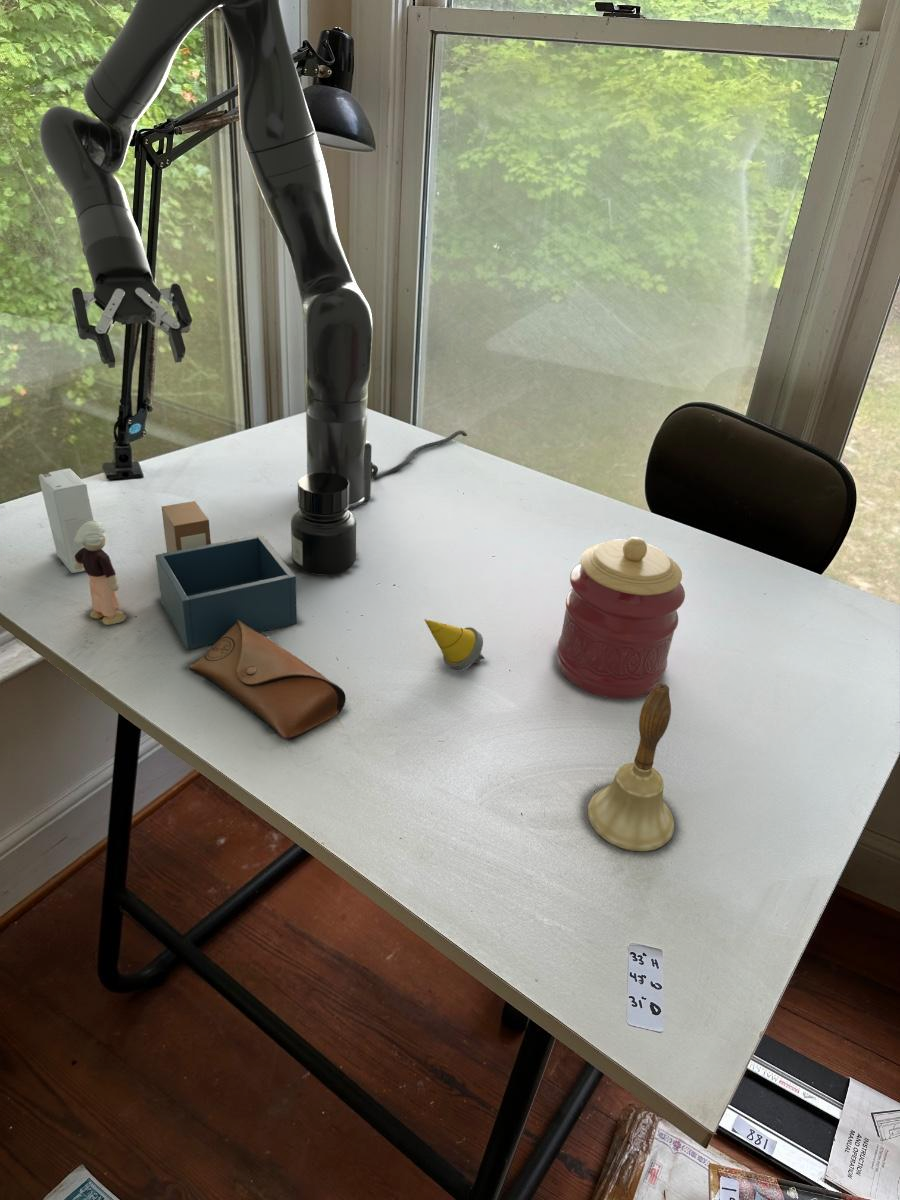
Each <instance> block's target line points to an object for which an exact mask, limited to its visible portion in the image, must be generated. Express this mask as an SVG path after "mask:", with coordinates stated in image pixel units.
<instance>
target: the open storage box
mask: <svg viewBox="0 0 900 1200" xmlns="http://www.w3.org/2000/svg"><path fill="white" fill-rule="evenodd" d="M155 562H156V570H157V571H156V572H157V578H158V586H159V594H160V601H161V603H162V605H163V607H164V609H165V611H166V612H167V615H168V616H169V618H170V620H171V622H172V624H173V625H174V627H175V629H176V631H177V633H178V635H179V637H180V639H181V640H182V642H183V644H184V646H185V648H186V649H187V651H190V650H194V649H197V648H203V647H206V646H210V645H214V644H215V643H216V642H217V641H218V640H219V639H220V638H221V637H222V636H223V635H224V634H225V633H226V632H227V631H228V630H229V629H230V628H231V627H232V626H234V625H235V624H236V623H237V621H236V620H239V621H241V622H242V623H243V624H245V625H246V626H248V627H249V628H251V629H253V630H254V631H256V632H258V633H262V632H263V633H264V632H267V631H272V630H275V629H279V628H283V627H287V626H291V625H295V624H298V606H297V604H298V603H297V576H296V575H295V574H294V572H293V571H292V569H290V567H289V566H288V565H287V564H286V562H285V561H284V559H282V557H281V556H280V555H279V554H278V552H277V551H276V550H275V548H274V547H273V546H272V545H271V543H270V542H269V541H268V540H267V539H266V538H265V536H264V535H263V534H258V535H252V536H246V537H241V538H235V539H231V540H226V541H220V542H216V543H211V544H209V545H204V546H199V547H194V548H188V549H183V550H178V551H173V552H167V551H166V552H162V553H158V554H155Z"/></svg>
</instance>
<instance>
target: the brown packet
mask: <svg viewBox="0 0 900 1200" xmlns="http://www.w3.org/2000/svg"><path fill="white" fill-rule="evenodd" d="M161 515H162V524H163V531H164V532H163V533H164V540H165V541H164V542H165V548H166V549H165V550H166V553H167V552H173V551H178V550H183V549H188V548H194V547H199V546H204V545H209V544H212V540H211V529H210V528H211V527H210V520H209V518H208V516H207V515H206V514H205V513H204V511H203V510H202V509H201V507H200V505H199V504H198V503H197V501H196V500H193V501H192V500H191V501H186V502H181V503H174V504H168V505H161Z"/></svg>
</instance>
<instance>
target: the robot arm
mask: <svg viewBox="0 0 900 1200" xmlns="http://www.w3.org/2000/svg"><path fill="white" fill-rule="evenodd" d="M280 6H281V5H280V1H279V0H137V1H136V3H135V5H134V7H133V8H132V10H131V13H130V15H129V16H128V18H127V20H126V21H125V23H124V24H123V27H122V28H121V30H120V31H119V33H118V34H117V36H116V38H115V39H114V40H113V42H112V43H111V45H110V46H109V48H108V49H107V50H106V52H105V54H104V55H103V56H102V58H101V59H100V61H99V62H98V64H97V65H96V67H95V68H94V70H93V72H92V73H91V75H90V76H89V77H88V79H87V81H86V83H85V84H84V87H83V97H84V101H85V103H86V105H87V107H88V109H89V110H90V111H91V112H92V114H93V115H94V116H95V117H94V116H91V115H89V114H87V113H84V112H81V111H79V110H77V109H74V108H71V107H69V106H65V105H54V106H52V107H50V108H48V109H47V110H46V111H45V112H44V114H43V115H42V117H41V120H40V124H39V139H40V144H41V149H42V151H43V153H44V156H45V158H46V160H47V162H48V164H49V166H50V167H51V169H52V170H53V172H54V174H55V176H56V178H57V179H58V180H59V182H60V184H61V186H62V187H63V189H64V191H65V192H66V193H67V195H68V197H69V198H70V199H71V204H72V207H73V211H74V215H75V218H76V222H77V226H78V229H79V231H78V232H79V238H80V242H81V247H82V253H83V256H84V257H85V261H86V263H87V267H88V271H89V274H90V278H91V281H92V285H93V288H94V290H93V291H83V290H82V289H81V288H80V287H73V288H72V289H71V306H72V311H73V315H74V320H75V325H76V331H77V335H78V337H79V339H81V340H84V341H85V340H87V339H89V340H92V341H94V342H95V344H96V347H97V350H98V353H99V357H100V361H101V362H102V363H103V365H107V367H108V369H114V368H116V357H115V353H114V349H113V345H112V343H111V339H110V335H109V333H110V332H112V329H113V328H114V327H115V324H116V323H119V324H121V326H126V325H131V324H139V325H141V324H142V325H143V324H147V322H149V323H150V324H151V325H153V326H154V327H155V328H156V329H159V330H161V331H163V332H164V333H165V334H166V335H167V336H168V343H169V346H170V349H171V354H172V356H173V359H174V362H175V364H176V363H182V360H183V359H184V358H185V354H186V349H187V348H186V345H185V341H184V339H183V335H182V334H183V333H185V334H187V333H189V332H190V330H191V325H192V322H193V318H192V315H191V312H190V310H189V306H188V305H187V302H186V298H185V296H184V294H183V293H184V292H183V291H182V287H181V286H180V285H179V284H178V283H172V284H171V286H170V287H165V288H159V287H158V286H157V285H156V283H155V282H154V278H153V274H152V272H151V267H150V264H149V262H148V257H147V254H146V252H145V248H144V245H143V240H142V238H141V234H140V231H139V229H138V226H137V224H136V222H135V219H134V216H133V213H132V211H131V210H132V209H131V207H130V204H129V199H128V197H127V193H126V191H125V188H124V186H123V184H122V182H121V181H120V179H118V177H116V176H115V174H117V173H118V172H119V171H120V170H121V169H122V168H123V165H124V164H125V160H126V157H127V153H128V150H129V147H130V143H131V140H132V138H133V135H134V133H135V129H136V126H137V124H138V122H139V120H140V119H141V118H142V116H143V115H144V114H145V113H146V111H147V110H148V108H149V107H150V106H151V105H152V103H153V102H154V100H155V99H156V98H157V97H158V95H159V93H160V92H161V90H162V89H163V86H164V85H165V83H166V81H167V79H168V76H169V73H170V70H171V68H172V65H173V62H174V59H175V57H176V54H177V53H178V50H179V48H180V46H181V44H182V43H183V42H184V40H185V39H186V38H187V36H188V35H189V33H190V32H191V31H192V30H193V29H194V28H195V27H196V26H197V25H198V24H199V23H200V22H201V21H203V20H204V18H206V17H207V16H208V15H209V14H210V13H211V12H213V11H214V10H215V9H217V8H219V11H220V13H221V16H222V19H223V21H224V24H225V27H226V30H227V33H228V36H229V38H230V41H231V45H232V48H233V52H234V58H235V64H236V70H237V71H236V72H237V84H238V85H237V87H238V89H237V90H238V91H237V92H238V114H239V115H238V116H239V127H240V131H241V136H242V142H243V144H244V148H245V151H246V153H247V154H246V155H247V157H248V160H249V163H250V166H251V168H252V171H253V175H254V177H255V179H256V183H257V185H258V188H259V191H260V193H261V196H262V198H263V200H264V202H265V205H266V207H267V209H268V212H269V213H270V216H271V217H272V220H273V222H274V224H275V226H276V228H277V230H278V232H279V234H280V236H281V238H282V240H283V242H284V244H285V247H286V249H287V252H288V255H289V258H290V261H291V264H292V269H293V272H294V276H295V280H296V285H297V289H298V292H299V298H300V302H301V307H302V308H301V309H302V310H301V311H302V315H303V319H304V323H305V332H306V333H305V334H306V373H305V379H304V381H305V382H304V383H305V429H306V437H305V438H306V475H308V474H312V473H323V472H326V473H334V474H337V475H340V476H343V477H344V478H346V479H348V482H349V483H350V490H349V508H348V509H353V508H355V507H356V508H357V507H359V506H360V505H362V504H363V503H364V502H366V501H370V500H371V483H372V479H375V480H377V479H380V478H381V479H382V478H383V477H386V476H389V475H392V474H394V473H396V472H398V471H399V470H401V469H403V468H404V467H406V466H407V465H408V464H409V463H410V462H411V461H412V460H413V458H414V456H416V454H417V453H419V452H421V451H423V450H425V449H429V448H432V447H436V446H440V445H443V444H446V443H448V442H451V441H452V440H454V439H455V438H456V437H458V436H459V435H461V436H463V437H467V436H468V433H467V432H466V431H465V430H462V429H459V430H456V431H454V432H453V433H451V434H450V435H449V436H447V437H445V438H442V439H439V440H436V441H433V442H429V443H425V444H422V445H419V446H418V447H415V448H414V449H413V450H412V451H411V452H410V453H409V454H408V456H407V457H406V459H404V460H403V461H402V462H401V463H398V464H397V465H396V466H394V467H393V468H390V469H388V470H387V471H385V472H382V473H378V472H379V468H378V466H377V465H376V464H373V461H372V451H373V450H372V449H373V447H372V443H371V442H370V441H368V440H367V439H368V437H367V436H368V399H369V398H368V396H369V395H368V394H369V382H370V378H371V372H372V351H373V350H372V348H373V316H372V311H371V310H372V309H371V308H370V305H369V303H368V301H367V300H366V298H365V296H364V294H363V293H362V291H361V289H360V288H359V286H358V283H357V282H356V279H355V277H354V275H353V273H352V270H351V268H350V265H349V263H348V260H347V258H346V255H345V252H344V249H343V247H342V244H341V241H340V237H339V235H338V231H337V226H336V220H335V219H336V218H335V212H334V211H335V210H334V205H333V204H334V203H333V196H332V190H331V186H330V181H329V176H328V172H327V167H326V163H325V159H324V156H323V153H322V149H321V146H320V143H319V139H318V136H317V133H316V129H315V125H314V122H313V120H312V117H311V114H310V111H309V108H308V104H307V101H306V98H305V95H304V91H303V87H302V84H301V81H300V77H299V74H298V71H297V67H296V65H295V61H294V58H293V55H292V52H291V48H290V46H289V42H288V38H287V34H286V30H285V25H284V20H283V16H282V12H281V7H280ZM161 300H164V301H165V303H166V304H167V305H168V306H169V307H172V309H173V312H174V315H175V317H173V316H172V315H170V314H169V312H168V310H167V308H165V307H164V306H163V305H162V304H161V303H160V302H161ZM91 304H95V305H96V306H97V307H98V308H99V309H100V310H101V311H103V312H102V314H101V316H100V319H99V320H98V322H97V324H96V325H93V324H90V323H89V317H88V313H87V311H88V310H90V308H91Z"/></svg>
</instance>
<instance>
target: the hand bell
mask: <svg viewBox="0 0 900 1200" xmlns="http://www.w3.org/2000/svg"><path fill="white" fill-rule="evenodd" d="M671 715H672V703H671V697H670V687H669V686H668V684H666V683H664V682H660V683H656V684H655V685H654V688H653V689H652V691H651V692H650V693H648V694H647V696H646V698H645V700H644V702H643V703H642V706H641V709H640V713H639V720H638V731H639V743H638V747H637V751H636V753H635V756H634V761H633V762H627V763H625V764H623V765H621V766H620V767H619V768H618V769H617V770H616V772H615V775H614V778H613V780H612V782H611V784H610V785H608V786H605V787H602V788H601V789H600V790H598V791H597V792H596V793H595V794H593V796H592V797H591V799H590V800H589V802H588V804H587V818H588V820H589V822H590V825H591V827H592V828H593V830H594V831H595V832H596V833H597V834H598V835H599V836H600V837H601V838H602V839H604V840H605V841H606V842H608V843H610V844H611V845H613V846H615V847H618V848H619V849H620V848H621V849H623V850H627V851H633V852H649V851H654V850H657V849H659V848H661V847H663V846H665V845H666V844H667V843H668V842H669V841H670V840H671V839H672V837H673V834H674V832H675V821H674V817H673V814H672V812H671V810H670V808H669V806H668V805H667V804H666V802H665V801H664V789H665V788H664V786H665V783H664V778H663V776H662V774H660V772H659V771H658V770H657V769H656V768H654V767H653V766H654V762H655V761H654V760H655V755H656V750H657V746H658V744H659V743H660V740H661V739H662V738H663V737H664V735H665V732H666V731H667V730H668V726H669V723H670V721H671Z"/></svg>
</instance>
